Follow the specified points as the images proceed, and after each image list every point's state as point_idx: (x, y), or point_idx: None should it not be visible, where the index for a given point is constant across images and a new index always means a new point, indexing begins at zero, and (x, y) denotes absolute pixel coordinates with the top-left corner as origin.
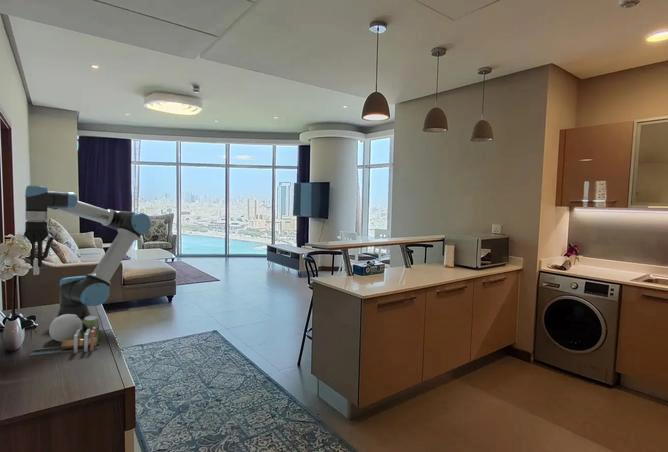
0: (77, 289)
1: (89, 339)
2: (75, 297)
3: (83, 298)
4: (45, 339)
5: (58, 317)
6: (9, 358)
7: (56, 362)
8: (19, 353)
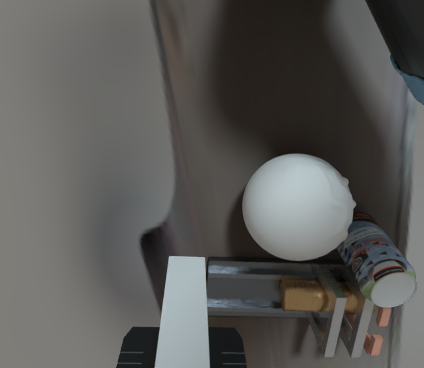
0: (418, 16)
1: (355, 312)
2: (375, 18)
3: (414, 93)
4: (221, 146)
5: (282, 237)
6: (158, 279)
7: (269, 339)
8: (173, 251)
